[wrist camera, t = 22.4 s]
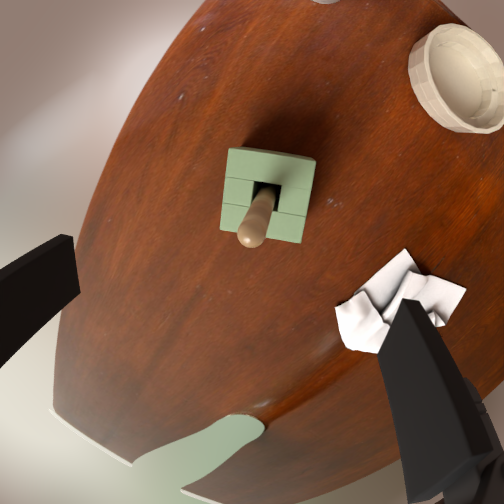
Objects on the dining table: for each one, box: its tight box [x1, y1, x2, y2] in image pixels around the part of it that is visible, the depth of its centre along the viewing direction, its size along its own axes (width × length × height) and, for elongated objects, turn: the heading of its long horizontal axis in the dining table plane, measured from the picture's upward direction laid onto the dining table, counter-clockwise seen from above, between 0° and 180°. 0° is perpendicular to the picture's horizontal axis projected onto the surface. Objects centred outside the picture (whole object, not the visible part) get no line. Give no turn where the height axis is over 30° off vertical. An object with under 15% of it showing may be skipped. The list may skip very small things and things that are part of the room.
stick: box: [237, 182, 278, 248], centre depth 28 cm, size 2×2×18 cm
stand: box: [220, 147, 316, 243], centre depth 32 cm, size 9×9×7 cm
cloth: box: [335, 248, 466, 353], centre depth 39 cm, size 20×22×2 cm
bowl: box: [408, 23, 504, 134], centre depth 24 cm, size 14×14×6 cm
